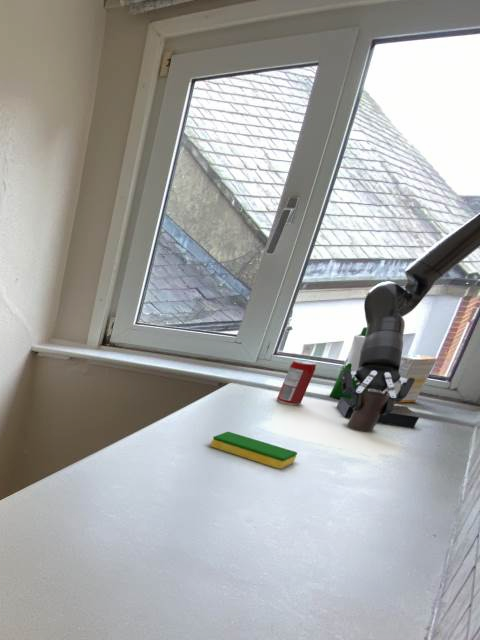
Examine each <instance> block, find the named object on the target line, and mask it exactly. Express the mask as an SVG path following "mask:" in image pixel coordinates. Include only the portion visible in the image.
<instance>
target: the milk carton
mask: <svg viewBox="0 0 480 640" xmlns="http://www.w3.org/2000/svg"><path fill="white" fill-rule="evenodd" d="M366 329H367V326H366V327H365V326H363V328H362V330H361V332H360V334H356V335H354V336H353V340H352V343H351V347H350V349H349V352H348V354H347V356H346V358H345V360H344V363H343V365H342V366H341V369H340V371H339V374H338V375H337V378H336V381H335V383H334V385H333V387H332V389H331V392H330V394H329V397H332V398H337V399H339V400H340V399H341V397H343V398H350V399H352V396H351V395H349V394H343V390H342V384H341V377H340V376H341V374H342V373H343V372H344V371H345V370H346V369H349V370H351V371H357V370H358V365H359V360H360V351H361V349H362V345H363V343H364V340H365V335H366ZM352 381H353V387H354V388H355V389H357V387H358V386H359V385H360V382H359V381H358V380H357V379H356V377H355V376H354V377H353V378H352ZM363 391H368V389H366V388H365V389H364V390H363ZM363 391H362V393H363ZM362 393H361V394H362Z"/></svg>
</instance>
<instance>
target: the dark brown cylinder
mask: <svg viewBox="0 0 480 640" xmlns="http://www.w3.org/2000/svg"><path fill="white" fill-rule="evenodd" d="M389 397H390V396H388V395H386V394H383V393H378V392H372V391H363V393H362V400H361V406H360V408H359V409H358V410H357V411H356V410H354V411H353V414H352V416H351V418H349V420H348V421H347V424H346V428H349V429H350V430H351V429H352V430H354V431H358V432H365V433H372V432H373V431H374V430H375V427H376V425H377V421H378V419H379V417H380V415H381V413H382V411H383V409H384V407H385V405H386V403H387V401H388V399H389Z"/></svg>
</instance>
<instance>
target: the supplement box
mask: <svg viewBox="0 0 480 640" xmlns="http://www.w3.org/2000/svg"><path fill="white" fill-rule="evenodd" d="M437 361H438V358H436V357H433V356H428V355H423V354H402V355H401V361H400V368H399V374H400V376H401V377H403V378H406V379H409V378H414V379H415V381H414V383H413V385H412V387H411V388H410V390H409V392H408V394H407V396H406V397H405V398H403V399H402V400H401V401H400V402H399V403H415V402H416V401H417V399H418V397H419V395H420V393H421V392H422V389H423V388H424V385H426V382H427V380H428V379H429V377H430V374H431V372H432V371H433V369H434V367H435V365H436V363H437ZM394 386H395V389H394V390H395V393H396V394H398V392H399V390H400V389H401V388H400V387H399V383H398V382H395V383H394ZM395 403H397V402H396V401H395V402H394V404H395Z"/></svg>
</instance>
